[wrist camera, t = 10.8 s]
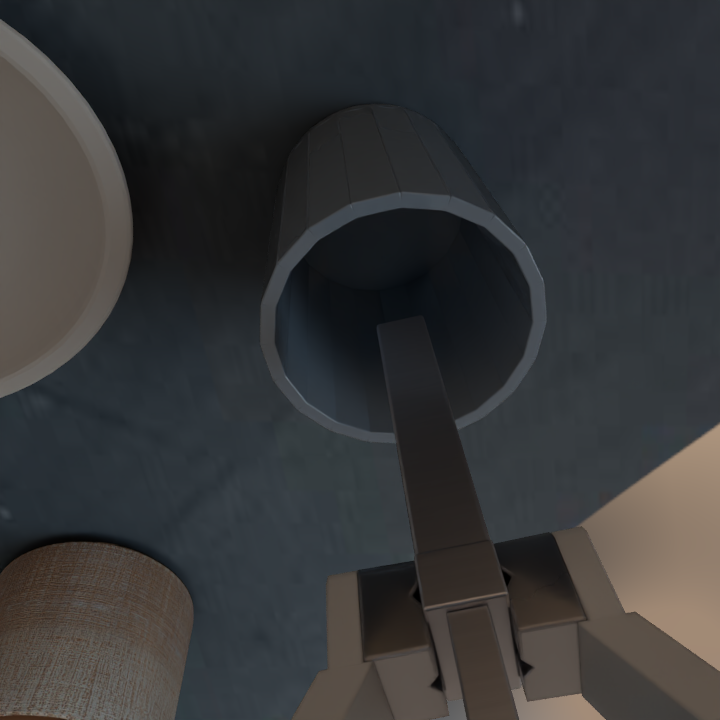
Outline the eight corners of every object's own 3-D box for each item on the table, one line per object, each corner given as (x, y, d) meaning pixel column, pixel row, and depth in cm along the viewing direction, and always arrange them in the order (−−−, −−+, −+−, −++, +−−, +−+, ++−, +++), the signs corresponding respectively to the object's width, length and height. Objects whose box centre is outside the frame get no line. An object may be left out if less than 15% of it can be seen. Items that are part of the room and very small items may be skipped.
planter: (19, 656, 40) (-56, 838, 32) (-24, 531, 34) (-129, 715, 26) (201, 654, 41) (173, 831, 33) (189, 532, 35) (153, 710, 27)
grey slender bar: (421, 302, 16) (606, 914, 6) (435, 380, 17) (608, 992, 7) (373, 313, 16) (476, 935, 6) (391, 390, 17) (501, 1008, 7)
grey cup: (456, 81, 23) (536, 160, 15) (480, 269, 28) (553, 413, 19) (251, 130, 24) (219, 234, 16) (305, 308, 28) (302, 466, 20)
